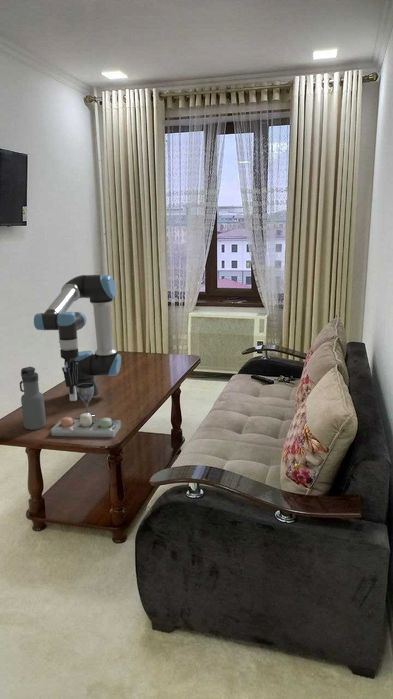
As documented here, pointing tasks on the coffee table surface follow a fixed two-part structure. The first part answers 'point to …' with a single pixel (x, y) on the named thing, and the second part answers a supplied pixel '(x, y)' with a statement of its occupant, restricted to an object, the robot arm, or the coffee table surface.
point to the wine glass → (86, 394)
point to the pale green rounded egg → (105, 423)
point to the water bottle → (32, 400)
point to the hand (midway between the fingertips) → (73, 400)
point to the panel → (86, 429)
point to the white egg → (86, 420)
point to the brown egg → (66, 422)
